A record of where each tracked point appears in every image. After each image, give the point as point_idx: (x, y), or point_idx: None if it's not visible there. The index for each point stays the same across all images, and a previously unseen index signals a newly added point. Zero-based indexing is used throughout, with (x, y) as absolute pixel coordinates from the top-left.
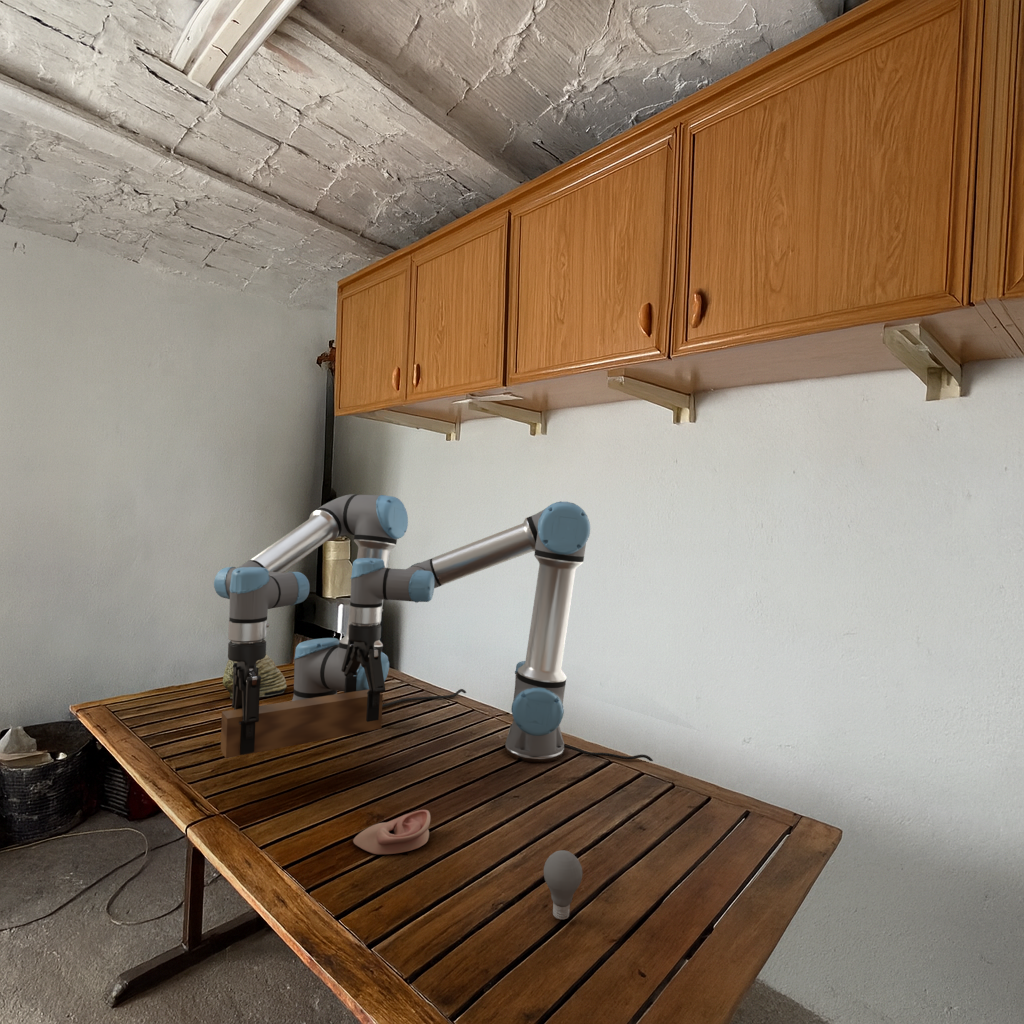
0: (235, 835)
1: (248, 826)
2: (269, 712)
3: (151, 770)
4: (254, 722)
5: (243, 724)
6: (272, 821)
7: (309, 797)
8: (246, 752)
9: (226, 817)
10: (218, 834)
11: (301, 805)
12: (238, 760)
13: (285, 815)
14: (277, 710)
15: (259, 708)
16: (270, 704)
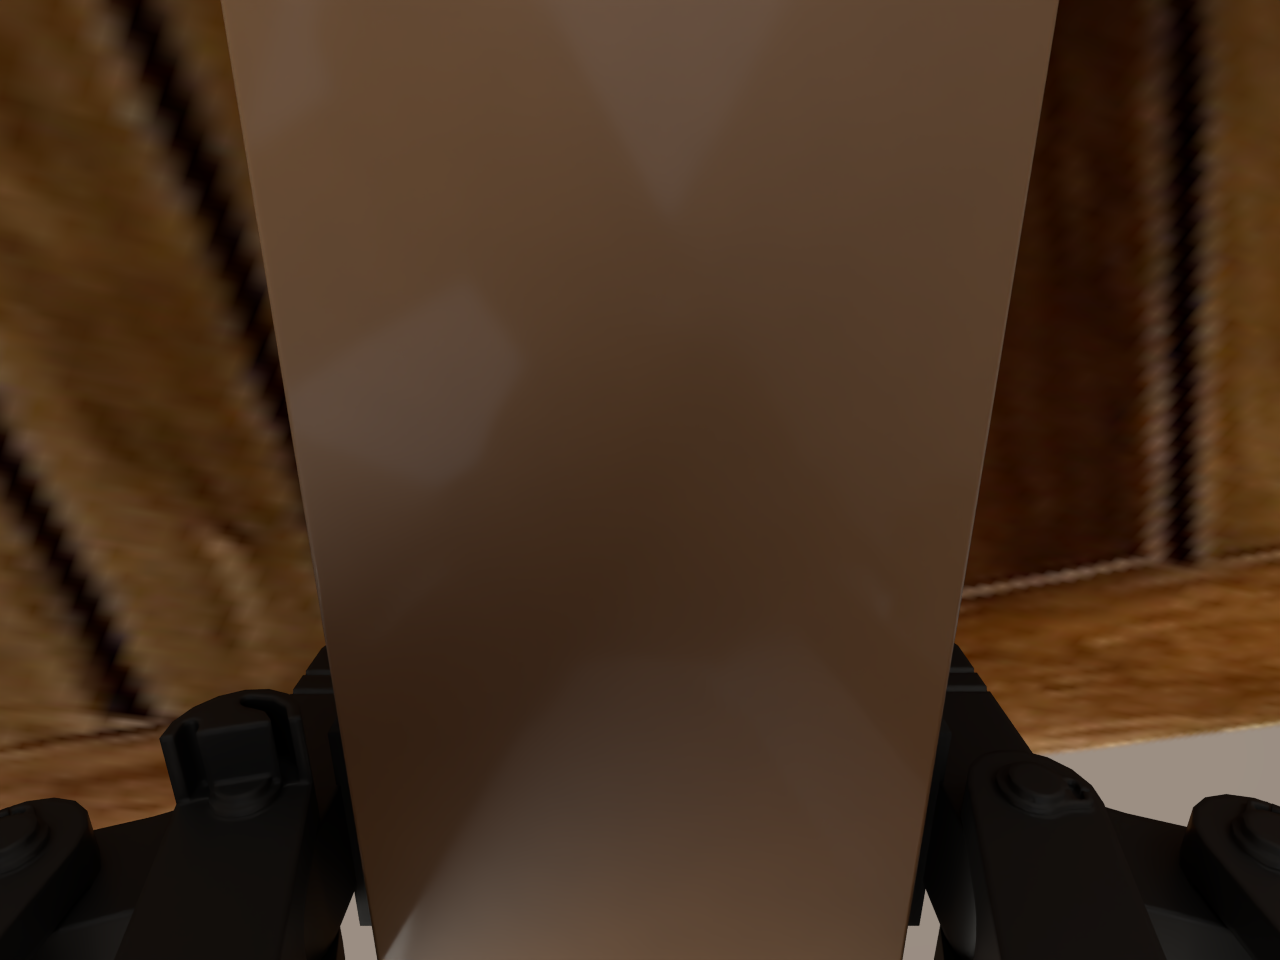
0: (1227, 597)
1: (1184, 516)
2: (967, 501)
3: (100, 823)
4: (943, 735)
5: (916, 888)
6: (1236, 376)
7: (1092, 5)
8: None
9: (985, 594)
10: (1147, 665)
11: (1172, 118)
12: (90, 333)
13: (1226, 276)
14: (996, 268)
15: (551, 655)
16: (299, 299)
